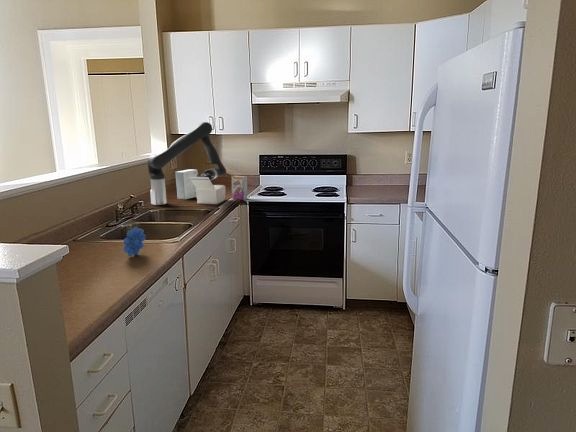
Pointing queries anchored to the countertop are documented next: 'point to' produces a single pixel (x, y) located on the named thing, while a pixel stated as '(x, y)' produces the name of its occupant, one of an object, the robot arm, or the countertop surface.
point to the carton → (211, 195)
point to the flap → (202, 182)
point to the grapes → (134, 241)
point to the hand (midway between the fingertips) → (200, 178)
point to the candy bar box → (239, 187)
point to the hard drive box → (185, 184)
